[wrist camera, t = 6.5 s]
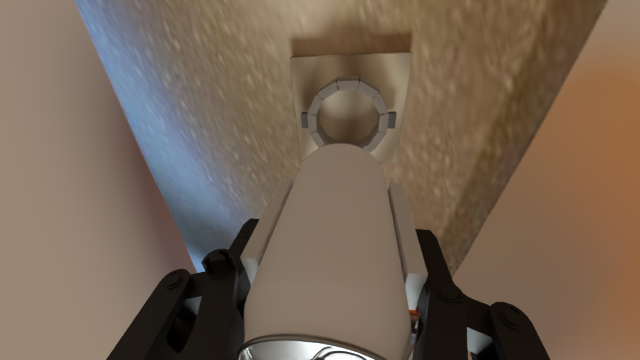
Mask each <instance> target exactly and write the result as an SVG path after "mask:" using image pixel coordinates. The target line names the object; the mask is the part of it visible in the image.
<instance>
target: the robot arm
mask: <svg viewBox="0 0 640 360" xmlns="http://www.w3.org/2000/svg"><path fill="white" fill-rule="evenodd" d="M292 186H293V184H292V178H281V179H280V181H279V183H278V185H277V187H276V189H275V191H274V193H273V195H272V197H271V198H270V200H269V202H268V204H267V206H266V208H265V210H264V212H263V214H262V216H261V218H260V219H249V220H248V221H247V222H246V223H245V224H244V225H243V226H242V228H241V230H240V232H239V233H238V235H237V237H236V239H235V240H234V242H233V243H232V245H231V247H230V249H229V250H227V249H217V250H214V251H212V252H211V253H209V254H208V255H207V256H206V257H205V258H204V259H203V261H202V265H203V267H204V269H205V272H201V273H196V274H191V275H190V273H189V272H188V271H187V270H185V269H178V270H175V271H172V272H170V273H169V274H167V275H166V276H165V277H164V278H163V279H162V280H161V281H160V282H159V284H158V285H157V287H156V288H155V290H154V291H153V293H152V294H151V296H150V297H149V298H148V300H147V301H146V303H145V304H144V306H143V307H142V309H141V310H140V312H139V313H138V315H137V316H136V317H135V319H134V320H133V322H132V323H131V325H130V326H129V328H128V329H127V331H126V332H125V333H124V335H123V336H122V338H121V339H120V341H119V342H118V343H117V345H116V346H115V348H114V349H113V351H112V352H111V353H110V355H109V356H108V358H107V359H106V360H237V353H238V350H239V348H240V347H241V346H242V345H243V344H244V338H245V332H244V307H245V302H246V299H247V296H248V293H249V290H250V288H251V285H252V282H253V280H254V277H255V275H256V273H257V270H258V268H259V265H260V263H261V260H262V258H263V255H264V253H265V251H266V248H267V246H268V243H269V241H270V238H271V236H272V234H273V231H274V229H275V226H276V224H277V222H278V219H279V217H280V214H281V212H282V210H283V207H284V205H285V203H286V200H287V198H288V195H289V193H290V191H291V188H292ZM388 195H389V200H390V205H391V211H392V216H393V222H394V227H395V233H396V238H397V244H398V249H399V255H400V260H401V266H402V272H403V277H404V283H405V289H406V295H407V300H408V306H409V310H416V307H417V304H418V309H419V313H420V316H419V318H418V321H417V324H416V326H415V328H416V329H417V331H416V338H415V345H414V352H413V359H412V360H468V350H469V351H470V353H471V356H472V360H550V358H549V356H548V354H547V352H546V350H545V348H544V346H543V344H542V342H541V340H540V338H539V336H538V334H537V332H536V330H535V328H534V326H533V324H532V322H531V321H530V320H529V318H528V317H527V316H526V315H525V314H524V313H523V312H522V311H521V310H520V309H518V308H517V307H515V306H513V305H511V304H508V303H505V302H496V303H494V304H492V305H491V306H489V305H487V304H484V303H481V302H479V301H476V300H474V299H472V298H470V297H468V296H466V295H465V294H463V293H462V291H461V290H460V289H459V288H458V287H457V286H456V285H455V284H454V282H453V280H452V278H451V275H450V272H449V270H448V267H447V264H446V262H445V259H444V256H443V255H442V251H441V248H440V246H439V243H438V240H437V238H436V237H435V235H434V234H433V233H432V232H431V231H430V230H421V229H415V227H414V223H413V220H412V216H411V213H410V209H409V206H408V202H407V199H406V195H405V192H404V188H403V185H402V183H394V182H390V184H389V190H388Z"/></svg>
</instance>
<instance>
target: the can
mask: <svg viewBox="0 0 640 360" xmlns="http://www.w3.org/2000/svg"><path fill="white" fill-rule="evenodd" d="M244 332H245V338H244V344H243V345H242V346H241V347H240V348H239V350H238V353H237V360H406V357H407V354H408V350H409V346H410V342H411V336H412V330H411V320H410V313H409V306H408V300H407V295H406V289H405V283H404V277H403V272H402V266H401V260H400V255H399V249H398V244H397V238H396V233H395V227H394V222H393V216H392V211H391V205H390V200H389V195H388V189H387V184H386V179H385V175H384V171H383V168H382V166H381V164H380V163H379V161H378V160H377V159H376V158H375V157H374V156H373V155H372V154H370V153H369V152H367V151H366V150H364V149H362V148H360V147H357V146H354V145H350V144H342V143H339V144H330V145H326V146H323V147H321V148H318V149H317V150H315V151H313V152H312V153H311V154H310V155H309V156H308V157H307V158H306V159H305V160H304V162H303V164H302V165H301V168H300V170H299V172H298V174H297V177H296V179H295V181H294V184H293V186H292V188H291V191H290V193H289V195H288V198H287V200H286V203H285V205H284V207H283V210H282V212H281V214H280V217H279V219H278V222H277V224H276V226H275V229H274V231H273V234H272V236H271V238H270V241H269V243H268V246H267V248H266V251H265V253H264V255H263V258H262V260H261V263H260V265H259V268H258V270H257V273H256V275H255V277H254V280H253V282H252V285H251V288H250V290H249V293H248V296H247V299H246V302H245V307H244Z"/></svg>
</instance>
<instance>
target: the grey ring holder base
mask: <svg viewBox="0 0 640 360" xmlns="http://www.w3.org/2000/svg"><path fill="white" fill-rule="evenodd" d="M412 56H413V53H412V52H391V53H366V54H341V55H316V56H293V57H290V63H291V72H292V82H293V91H294V101H295V110H296V120H297V129H298V139H299V148H300V158H301V161H304V160H305V159H306V158H307V157H308V156H309V155H310V154H311V153H312V152H313V151H315V150H317V149H318V148H321V147H323V146H326V145H330V144H339V143H342V144H350V145H354V146H357V147H360V148H362V149H364V150H366V151H367V152H369V153H370V154H372V155H373V156H374V157H375V158H376V159H377V160H378V161H379V163H390V164H396V158H397V152H398V145H399V139H400V132H401V126H402V120H403V113H404V107H405V100H406V94H407V88H408V81H409V75H410V68H411V62H412Z"/></svg>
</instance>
